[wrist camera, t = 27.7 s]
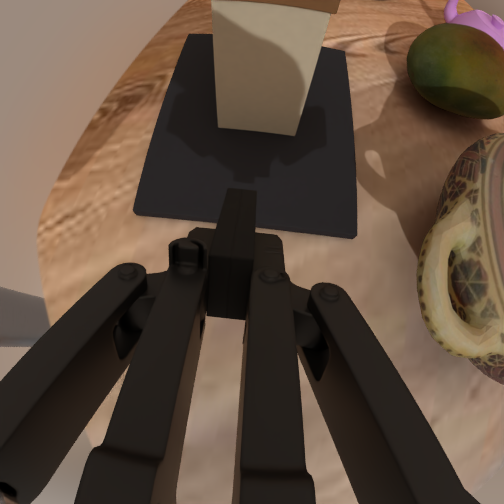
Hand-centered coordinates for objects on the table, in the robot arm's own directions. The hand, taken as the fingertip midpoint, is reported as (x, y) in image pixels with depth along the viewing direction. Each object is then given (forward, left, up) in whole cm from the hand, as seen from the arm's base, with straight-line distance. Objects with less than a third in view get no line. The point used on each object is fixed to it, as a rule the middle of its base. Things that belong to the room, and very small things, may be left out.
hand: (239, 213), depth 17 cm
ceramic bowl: (+20, 0, -6) cm, 21 cm away
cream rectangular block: (0, +12, -5) cm, 13 cm away
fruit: (+20, +19, -6) cm, 29 cm away
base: (0, +11, -6) cm, 13 cm away
